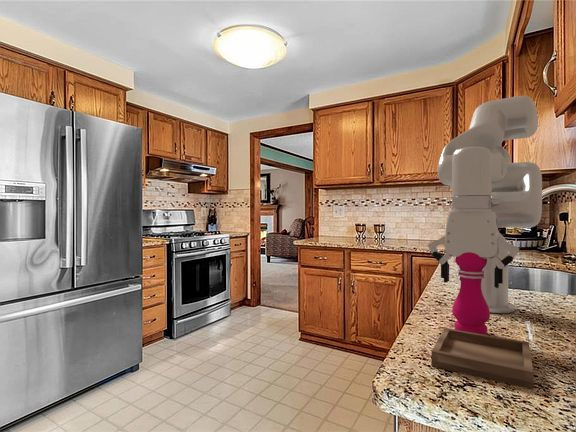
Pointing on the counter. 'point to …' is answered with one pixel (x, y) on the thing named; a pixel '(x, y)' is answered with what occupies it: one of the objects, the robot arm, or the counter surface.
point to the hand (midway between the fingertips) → (470, 284)
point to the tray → (484, 357)
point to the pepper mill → (471, 295)
